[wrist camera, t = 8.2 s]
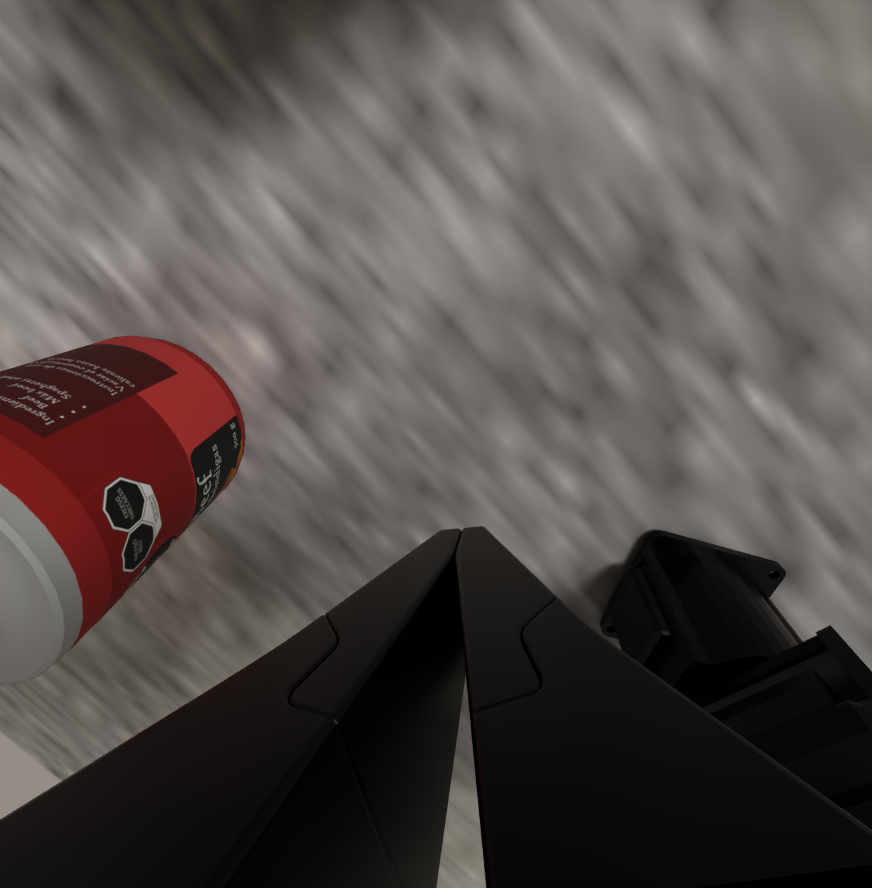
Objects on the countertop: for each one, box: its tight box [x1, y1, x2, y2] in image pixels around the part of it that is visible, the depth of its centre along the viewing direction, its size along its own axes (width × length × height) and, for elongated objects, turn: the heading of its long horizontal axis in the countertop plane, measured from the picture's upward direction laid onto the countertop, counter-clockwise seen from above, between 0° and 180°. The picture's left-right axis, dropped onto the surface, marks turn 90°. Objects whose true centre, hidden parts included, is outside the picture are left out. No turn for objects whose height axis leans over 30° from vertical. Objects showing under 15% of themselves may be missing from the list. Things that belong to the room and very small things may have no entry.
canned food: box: [0, 336, 245, 686], centre depth 17 cm, size 8×8×11 cm
